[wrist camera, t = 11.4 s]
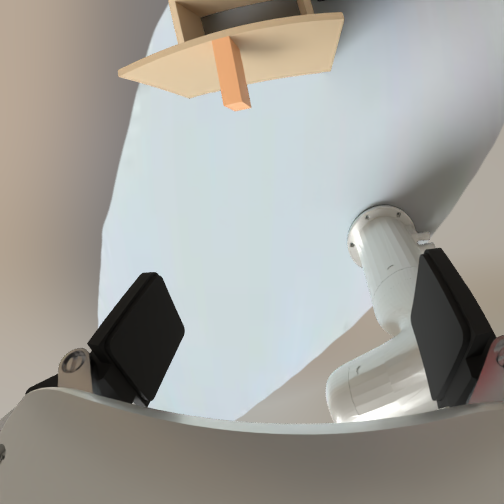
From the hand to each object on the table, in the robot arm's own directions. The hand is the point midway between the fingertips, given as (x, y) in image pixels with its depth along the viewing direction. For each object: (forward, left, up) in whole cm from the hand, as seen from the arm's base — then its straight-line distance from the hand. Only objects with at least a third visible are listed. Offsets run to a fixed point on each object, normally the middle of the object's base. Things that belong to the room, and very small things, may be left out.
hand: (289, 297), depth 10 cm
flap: (+3, -11, -19) cm, 22 cm away
